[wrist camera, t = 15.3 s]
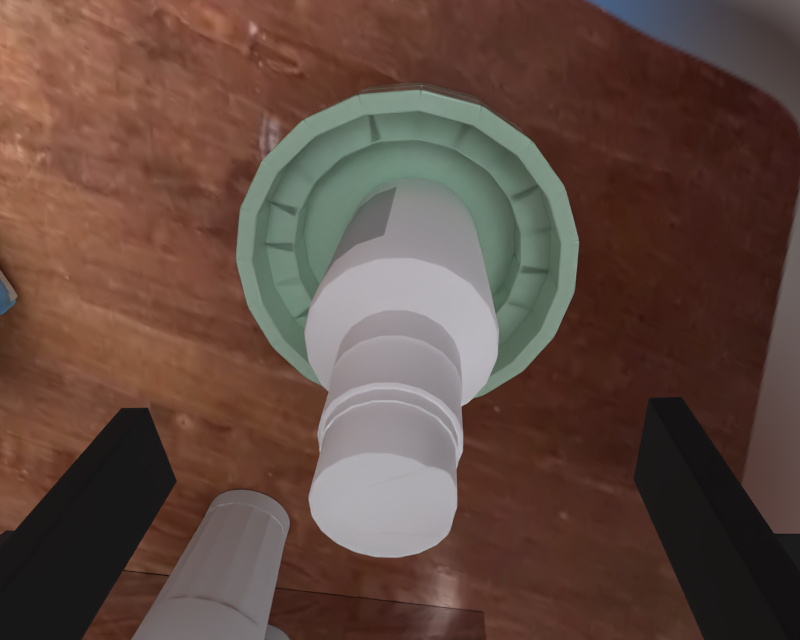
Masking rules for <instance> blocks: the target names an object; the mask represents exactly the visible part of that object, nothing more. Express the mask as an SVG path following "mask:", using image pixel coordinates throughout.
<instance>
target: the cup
mask: <svg viewBox="0 0 800 640" xmlns="http://www.w3.org/2000/svg"><path fill="white" fill-rule="evenodd" d="M289 526H290V521H289V517H288V515H287V513H286V511H285V510H284V508H283V507H282V506H281V505H280V504H279V503H278V502H276V501H275V500H274V499H272V498H270V497H269V496H267V495H264V494H262V493H259V492H255V491H251V490H231V491H227V492H224V493H222V494H220V495H218V496H217V497H216V498H215V499H214V500H213V501H212V503H211V505H210V507H209V509H208V511H207V513H206V515H205V517H204V519H203V520H202V522H201V524H200V526H199V527H198V529H197V531H196V532H195V534H194V536H193V537H192V539H191V541H190V542H189V544H188V546H187V547H186V549H185V551H184V553H183V554H182V556H181V558H180V559H179V561H178V563H177V564H176V566H175V568H174V569H173V571H172V573H171V575H170V576H169V578H168V580H167V581H166V583H165V585H164V586H163V588H162V590H161V591H160V593H159V595H158V596H157V598H156V600H155V602H154V603H153V605H152V607H151V608H150V610H149V612H148V613H147V615H146V616H145V618H144V620H143V621H142V623H141V625H140V626H139V628H138V629H137V631H136V633H135V634H134V636H133V638H132V639H131V640H264V637H265V633H266V628H267V623H268V619H269V614H270V609H271V605H272V600H273V595H274V591H275V586H276V581H277V576H278V572H279V567H280V562H281V558H282V553H283V548H284V544H285V540H286V537H287V534H288V530H289Z"/></svg>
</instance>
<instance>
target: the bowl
mask: <svg viewBox="0 0 800 640" xmlns="http://www.w3.org/2000/svg"><path fill="white" fill-rule="evenodd" d="M410 177H422V178H425V179H429V180H432V181H436V182H439V183H442V184H443V185H445V186H446V187H447V188H449V189H450V190H452V191H453V192H455V193H456V194H458V195H459V196H460V198H461V199H462V200H463V202H464V203H465V204H466V206H467V207H468V209H469V210H470V211H471V214H472V217H473V220H474V223H475V226H476V229H477V233H478V238H479V242H480V247H481V251H482V256H483V260H484V264H485V269H486V273H487V278H488V282H489V287H490V291H491V295H492V300H493V304H494V309H495V313H496V318H497V322H498V326H499V341H498V357H497V360H496V362H495V365H494V367H493V369H492V371H491V374H490V376H489V378H488V381H487V383H486V384H485V385H484V386H483V387H482V389H481V390H480V391H479V392H478V393H477V394H476V395H475V396H474V397H473V398H476V397H480V396H482V395H485V394H487V393H488V392H490V391H491V390H493V389H495V388H496V387H498V386H500V385H501V384H503V383H505V382H506V381H508V380H509V379H511V378H513V377H514V376H516V375H518V374H519V373H521V372H522V371H524V370H525V368H526V367H527V366H528V365H529V364H530V363H531V362H532V361H533V360H534V359H535V357H536V356H537V355H538V354H539V353H540V352H541V351H542V350H543V349H544V347H545V346H546V345H547V344H548V343H549V342H550V341H551V340H552V339H553V338H554V336H555V334H556V332H557V329H558V327H559V325H560V323H561V321H562V318H563V316H564V314H565V312H566V310H567V307H568V305H569V303H570V301H571V299H572V296H573V294H574V291H575V283H576V272H577V261H578V250H579V237H578V234H577V230H576V226H575V222H574V218H573V215H572V211H571V207H570V203H569V199H568V196H567V192H566V189H565V186H564V185H563V184H562V182H561V181H560V179H559V178H558V176H557V175H556V174H555V172H554V171H553V169H552V168H551V166H550V165H549V164H548V162H547V161H546V159H545V158H544V156H543V155H542V154H541V152H540V151H539V149H538V148H537V146H536V145H535V144H534V142H533V141H532V140H531V139H530V138H529V137H528V136H527V135H526V134H525V133H524V132H523V131H522V130H521V129H520V128H519V127H518V126H517V125H516V124H514V123H513V122H512V121H510V120H509V119H507V118H506V117H504V116H503V115H502V114H500V113H499V112H497V111H496V110H494V109H493V108H492V107H490V106H489V105H487V104H486V103H484V102H483V101H481V100H480V99H479V98H477V97H476V96H473V95H470V94H467V93H463V92H459V91H456V90H452V89H448V88H444V87H441V86H437V85H433V84H430V83H426V82H414V83H402V84H390V85H378V86H370V87H367V88H365V89H363V90H361V91H358V92H356V93H354V94H352V95H350V96H348V97H345V98H343V99H341V100H339V101H337V102H334V103H332V104H330V105H328V106H326V107H324V108H322V109H320V110H319V111H317V112H315V113H314V114H312V115H310V116H308V117H307V118H305V119H304V120H302V121H301V122H300V123H299V124H298V125H297V126H296V127H295V128H294V129H293V130H292V131H291V132H290V133H289V134H288V135H287V136H286V137H285V138H284V139H283V140H282V141H281V142H280V143H279V144H278V145H277V146H276V147H275V148H274V149H273V150H272V151H271V152H270V153H269V154H268V155H267V156H266V157H265V158H264V159H263V161H262V162H261V164H260V166H259V168H258V170H257V172H256V175H255V177H254V179H253V181H252V183H251V185H250V188H249V190H248V192H247V194H246V196H245V198H244V200H243V203H242V205H241V209H240V213H239V225H238V237H237V248H236V262H237V266H238V271H239V275H240V279H241V283H242V287H243V291H244V295H245V299H246V303H247V306H248V308H249V310H250V312H251V313H252V315H253V317H254V318H255V320H256V322H257V323H258V325H259V326H260V328H261V330H262V331H263V333H264V335H265V336H266V338H267V340H268V341H269V343H270V344H271V346H273V348H274V349H275V350H276V351H277V352H278V353H279V354H280V355H281V356H282V357H283V358H285V359H286V360H287V361H288V362H289V363H290V364H291V365H292V366H293V367H294V368H295V369H297V370H298V371H299V372H300V373H301V374H302V375H303V376H304V377H305V378H307V379H309V380H311V381H312V382H314V383H316V384H318V385H320V386H322V385H321V383H320V382H319V380H318V378H317V376H316V374H315V372H314V371H313V369H312V367H311V365H310V363H309V361H308V355H307V349H306V342H305V336H304V331H305V326H306V321H307V316H308V311H309V307H310V304H311V302H312V300H313V298H314V295H315V293H316V291H317V289H318V287H319V285H320V283H321V281H322V279H323V277H324V274H325V272H326V270H327V268H328V266H329V264H330V262H331V260H332V258H333V255H334V253H335V251H336V249H337V247H338V245H339V243H340V241H341V239H342V237H343V234H344V232H345V230H346V228H347V226H348V224H349V222H350V220H351V218H352V215H353V214H354V212H355V211H356V209H357V207H358V206H359V204H360V203H361V201H362V199H363V198H364V197H365V196H367V195H368V194H369V193H370V192H372V191H373V190H374V189H375V188H377V187H378V186H379V185H381V184H384V183H387V182H389V181H392V180H395V179H398V178H410ZM322 387H323V386H322ZM473 398H472V399H473Z"/></svg>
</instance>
